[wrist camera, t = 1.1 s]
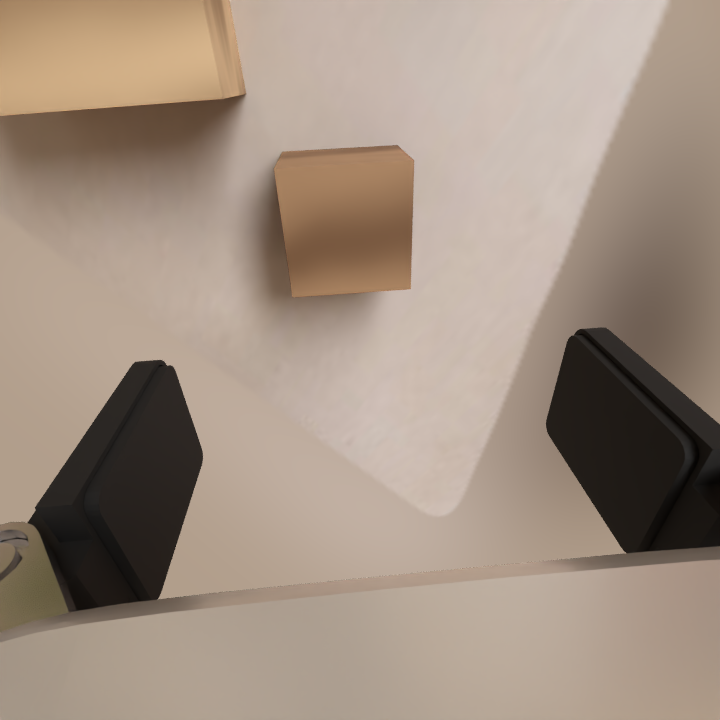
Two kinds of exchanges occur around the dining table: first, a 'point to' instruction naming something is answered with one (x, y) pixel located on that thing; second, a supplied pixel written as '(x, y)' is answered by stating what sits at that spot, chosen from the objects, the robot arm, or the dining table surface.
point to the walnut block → (346, 219)
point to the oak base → (115, 54)
